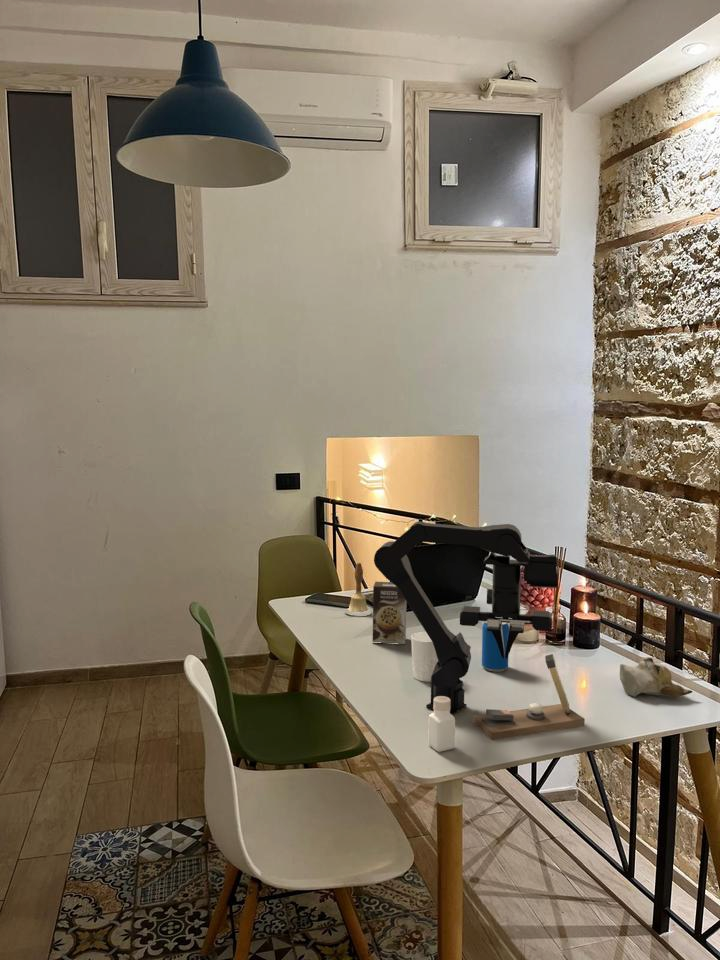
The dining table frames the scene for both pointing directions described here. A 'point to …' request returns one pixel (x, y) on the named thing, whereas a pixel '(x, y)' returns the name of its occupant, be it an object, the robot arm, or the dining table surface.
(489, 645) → the beverage can
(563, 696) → the tan capped bar
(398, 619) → the coffee box
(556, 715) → the switch panel
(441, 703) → the white pill bottle
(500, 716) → the rocker switch
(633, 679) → the ceramic sculpture
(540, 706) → the push button
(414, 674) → the white cup
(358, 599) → the hand bell
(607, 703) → the dining table surface
